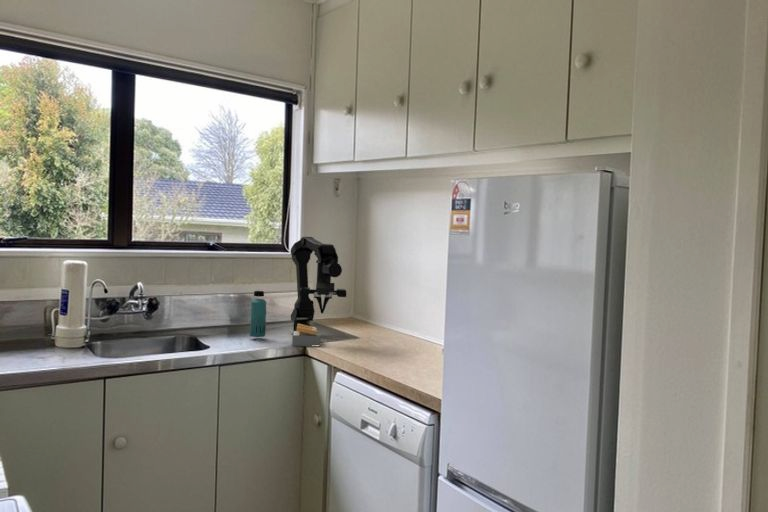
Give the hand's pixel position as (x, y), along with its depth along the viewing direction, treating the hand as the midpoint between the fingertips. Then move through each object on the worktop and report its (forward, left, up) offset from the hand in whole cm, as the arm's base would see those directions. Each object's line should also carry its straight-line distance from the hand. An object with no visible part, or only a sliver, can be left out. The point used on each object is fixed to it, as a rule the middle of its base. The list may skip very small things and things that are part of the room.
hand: (322, 313), depth 234 cm
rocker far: (-6, -1, -7) cm, 9 cm away
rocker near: (-4, -6, -7) cm, 10 cm away
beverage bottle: (-26, -5, -13) cm, 29 cm away
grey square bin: (-5, -3, -12) cm, 14 cm away
